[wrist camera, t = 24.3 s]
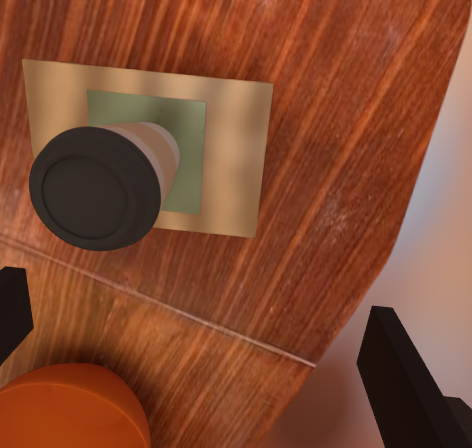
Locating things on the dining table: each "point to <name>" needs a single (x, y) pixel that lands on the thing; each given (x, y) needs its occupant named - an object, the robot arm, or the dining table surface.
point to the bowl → (71, 410)
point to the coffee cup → (104, 183)
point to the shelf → (177, 124)
